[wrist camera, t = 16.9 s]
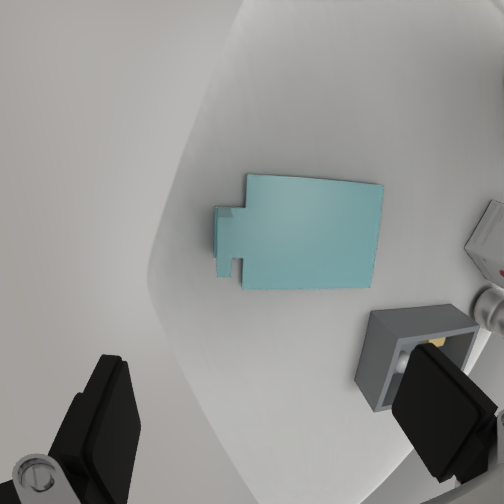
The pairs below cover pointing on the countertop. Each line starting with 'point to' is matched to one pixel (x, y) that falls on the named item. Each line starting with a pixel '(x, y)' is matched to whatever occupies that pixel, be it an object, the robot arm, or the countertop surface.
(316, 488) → the countertop surface
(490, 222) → the supplement box
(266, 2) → the countertop surface
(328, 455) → the countertop surface
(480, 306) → the plastic bottle
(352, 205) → the lid
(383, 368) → the tub
